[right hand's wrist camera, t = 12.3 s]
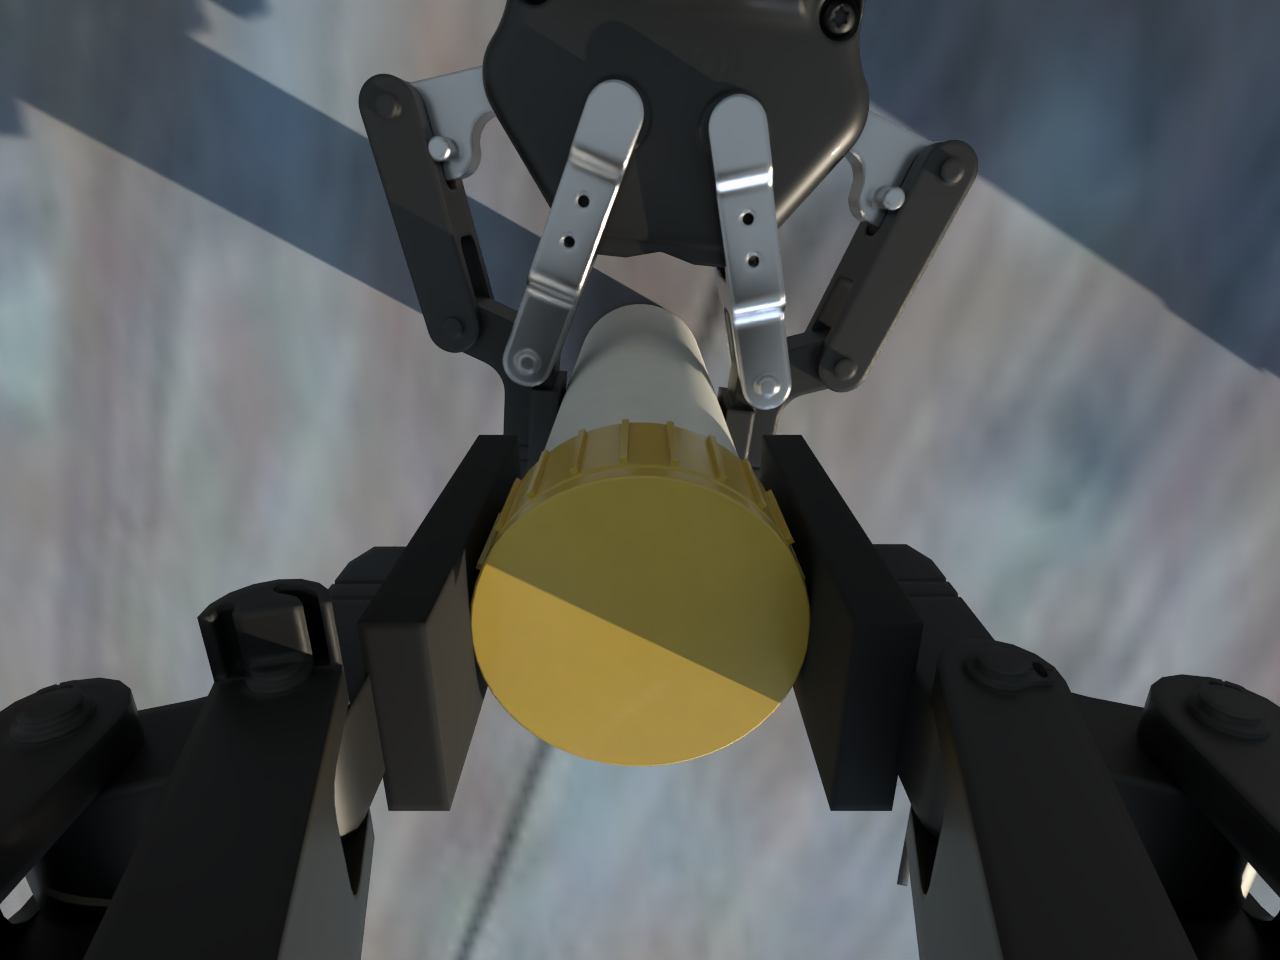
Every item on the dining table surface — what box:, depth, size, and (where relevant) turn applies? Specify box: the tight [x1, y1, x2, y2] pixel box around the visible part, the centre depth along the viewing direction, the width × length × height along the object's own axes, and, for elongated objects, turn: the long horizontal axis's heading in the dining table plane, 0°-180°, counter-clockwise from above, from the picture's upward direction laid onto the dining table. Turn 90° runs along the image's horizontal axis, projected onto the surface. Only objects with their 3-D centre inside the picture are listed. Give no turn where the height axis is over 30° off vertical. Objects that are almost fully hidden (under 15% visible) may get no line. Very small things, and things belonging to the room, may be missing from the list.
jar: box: [545, 304, 739, 458], centre depth 18 cm, size 4×4×16 cm
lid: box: [470, 419, 810, 766], centre depth 11 cm, size 5×5×2 cm
